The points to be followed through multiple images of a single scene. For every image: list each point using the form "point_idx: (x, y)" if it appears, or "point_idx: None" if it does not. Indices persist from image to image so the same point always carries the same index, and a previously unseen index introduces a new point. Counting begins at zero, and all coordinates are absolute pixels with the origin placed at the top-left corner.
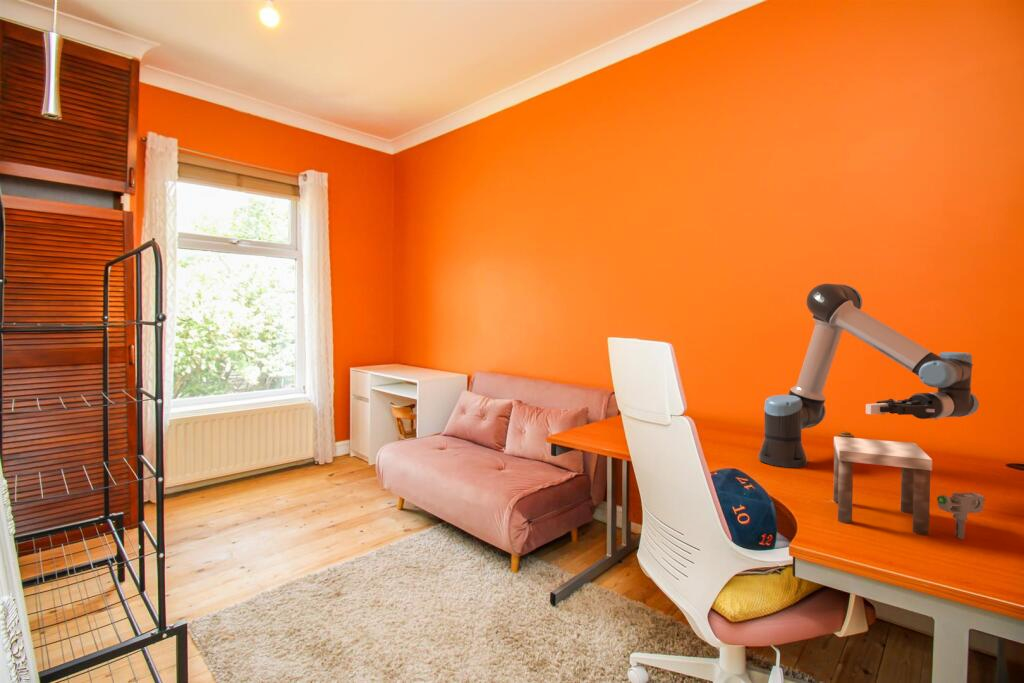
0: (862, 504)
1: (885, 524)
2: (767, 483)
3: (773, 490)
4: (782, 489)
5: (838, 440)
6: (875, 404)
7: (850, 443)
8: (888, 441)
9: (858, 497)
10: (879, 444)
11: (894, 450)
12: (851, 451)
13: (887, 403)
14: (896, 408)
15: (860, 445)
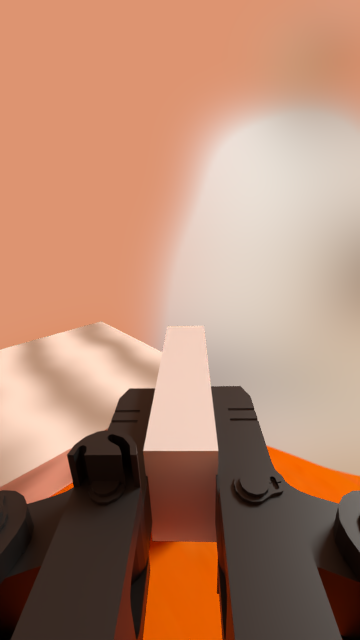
0: (150, 567)
1: (57, 492)
2: (337, 473)
3: (282, 452)
4: (290, 472)
5: (159, 355)
6: (170, 348)
7: (123, 355)
8: (59, 444)
9: (200, 629)
10: (67, 391)
11: (13, 374)
12: (84, 327)
13: (224, 539)
14: (47, 512)
15: (97, 357)
